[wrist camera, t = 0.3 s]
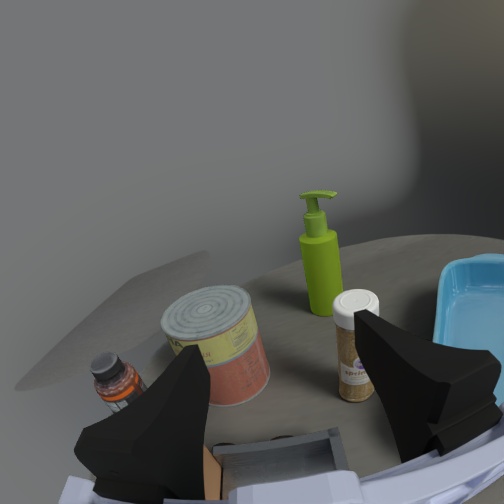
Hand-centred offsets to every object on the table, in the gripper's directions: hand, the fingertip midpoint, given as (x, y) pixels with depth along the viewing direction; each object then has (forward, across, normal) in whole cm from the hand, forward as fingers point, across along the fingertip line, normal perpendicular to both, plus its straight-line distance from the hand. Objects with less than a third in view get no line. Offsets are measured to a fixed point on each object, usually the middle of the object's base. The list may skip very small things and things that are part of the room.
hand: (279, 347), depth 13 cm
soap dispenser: (+32, -9, +19) cm, 38 cm away
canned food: (+21, +8, +20) cm, 30 cm away
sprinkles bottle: (+13, -8, +20) cm, 25 cm away
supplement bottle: (+14, +20, +20) cm, 32 cm away
